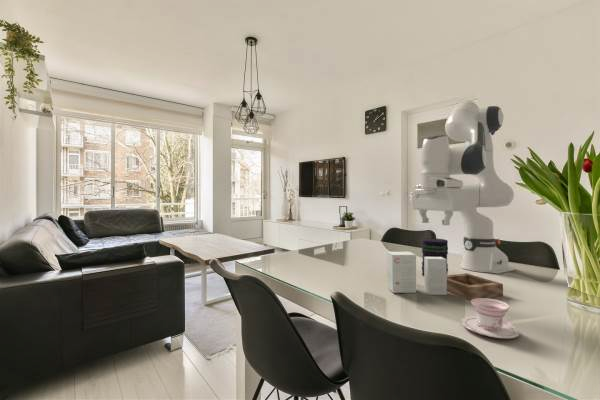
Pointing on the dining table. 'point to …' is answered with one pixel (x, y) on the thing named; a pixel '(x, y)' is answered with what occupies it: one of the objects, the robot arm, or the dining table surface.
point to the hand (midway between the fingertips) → (435, 224)
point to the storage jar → (434, 249)
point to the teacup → (490, 319)
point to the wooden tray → (473, 286)
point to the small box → (402, 272)
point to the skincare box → (435, 275)
